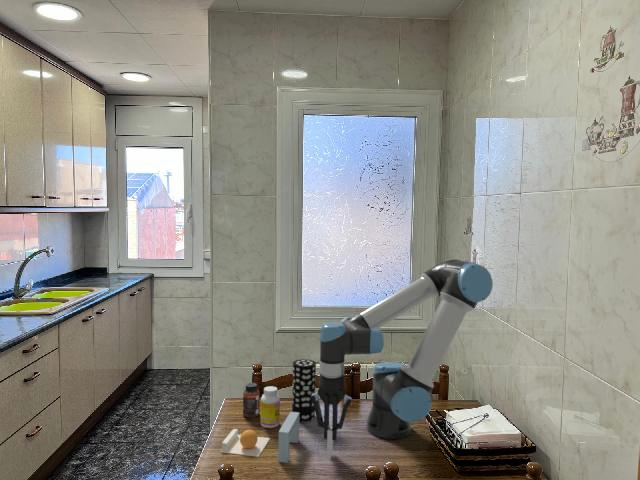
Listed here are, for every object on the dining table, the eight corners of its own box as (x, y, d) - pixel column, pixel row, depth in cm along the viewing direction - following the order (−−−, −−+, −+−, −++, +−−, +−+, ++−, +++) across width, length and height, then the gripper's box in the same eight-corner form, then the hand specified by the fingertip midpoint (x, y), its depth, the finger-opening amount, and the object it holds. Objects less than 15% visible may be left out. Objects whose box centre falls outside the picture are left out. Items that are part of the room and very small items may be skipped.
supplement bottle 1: (261, 416, 172) (262, 385, 172) (246, 419, 169) (247, 388, 168) (255, 410, 177) (255, 380, 177) (240, 413, 174) (240, 383, 173)
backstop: (237, 436, 156) (237, 429, 156) (226, 451, 146) (226, 443, 146) (233, 436, 157) (233, 428, 156) (221, 450, 147) (221, 442, 147)
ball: (239, 435, 152) (251, 447, 152) (234, 443, 147) (247, 455, 146) (250, 423, 152) (262, 435, 151) (245, 430, 146) (258, 442, 146)
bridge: (298, 440, 155) (299, 412, 154) (287, 462, 141) (288, 432, 140) (290, 439, 155) (290, 411, 155) (278, 461, 141) (278, 431, 141)
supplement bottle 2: (276, 429, 162) (276, 393, 161) (257, 427, 163) (258, 391, 162) (281, 421, 168) (282, 386, 168) (263, 419, 170) (264, 384, 169)
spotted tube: (319, 415, 174) (320, 362, 173) (306, 423, 167) (307, 368, 166) (300, 410, 178) (301, 357, 177) (287, 417, 171) (288, 363, 170)
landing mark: (269, 438, 155) (269, 438, 155) (258, 457, 144) (258, 456, 144) (235, 434, 158) (235, 434, 157) (221, 452, 146) (221, 451, 146)
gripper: (354, 371, 147) (352, 445, 148) (313, 368, 149) (311, 441, 150) (351, 380, 139) (349, 457, 141) (308, 376, 142) (306, 452, 143)
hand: (330, 449), depth 145 cm, fingers closed
